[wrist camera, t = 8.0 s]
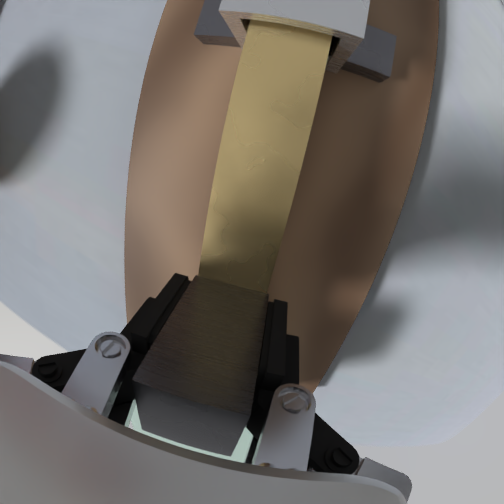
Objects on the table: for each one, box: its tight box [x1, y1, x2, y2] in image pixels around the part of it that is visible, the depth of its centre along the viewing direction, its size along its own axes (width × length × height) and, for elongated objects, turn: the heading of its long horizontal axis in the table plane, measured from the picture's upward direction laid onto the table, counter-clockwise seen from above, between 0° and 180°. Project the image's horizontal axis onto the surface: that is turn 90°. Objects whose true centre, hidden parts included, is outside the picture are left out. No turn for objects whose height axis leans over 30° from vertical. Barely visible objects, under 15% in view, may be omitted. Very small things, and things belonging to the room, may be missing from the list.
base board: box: [124, 0, 439, 394], centre depth 13 cm, size 15×34×2 cm, turn 168°
